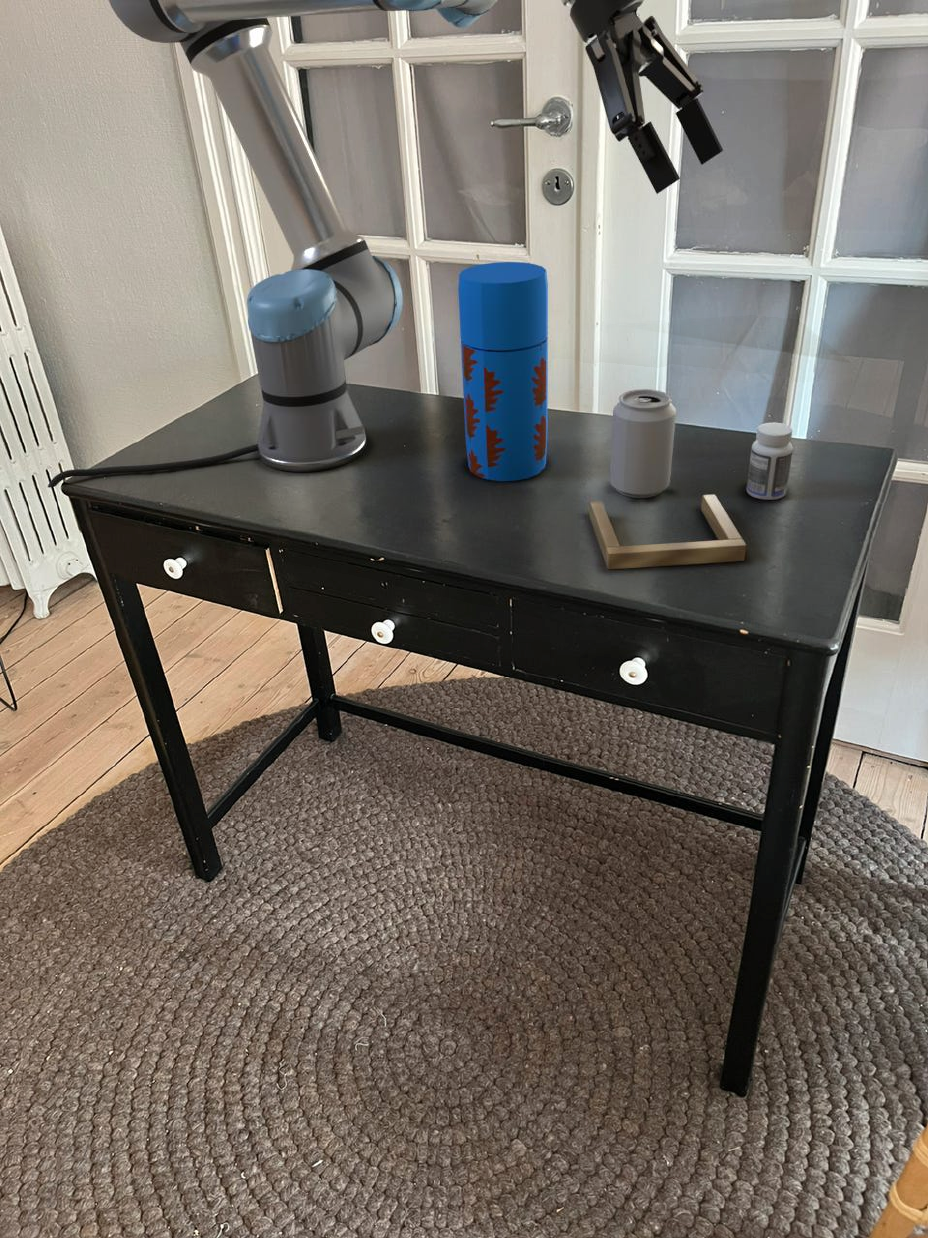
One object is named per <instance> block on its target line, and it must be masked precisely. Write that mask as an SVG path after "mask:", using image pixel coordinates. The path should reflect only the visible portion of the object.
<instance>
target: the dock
mask: <svg viewBox="0 0 928 1238" xmlns="http://www.w3.org/2000/svg"><path fill="white" fill-rule="evenodd" d="M700 507H701V508H700V511H701V512H702V515H703V516H704V518H705V519H706V521H707V523H708V525H709V526H710V528H711V530H712V531H713V533H714V535H715V537H716V538H717V539H715V540H704V541H701V540H700V541H686V542H684V541H683V542H671V543H656V544H655V543H654V544H640V545H639V544H638V545H624V546H622V545H621V546H620V544H619V541H618V539H617V535H616V533H615V531H614V528H613V526H612V523H611V520H610V518H609V516H608V513H607V510H606V508H605V505H604V502H603V501H590V502H589V520H590V523H591V525H592V528H593V531H594V534H595V537H596V539H597V542H598V546H599V548H600V551H601V554H602V557H603V559H604V563H605V565H606V568H607V570H622V569H635V568H636V569H637V568H651V567H669V566H683V565H685V566H686V565H700V564H716V563H730V562H731V563H732V562H744V561H745V557H746V552H747V551H746V550H747V544H746V542H745V541H744V539H743V537H742V536H741V534H740V533H739V531H738V529H737V528H736V525H734V523H733V521H732V520H731V517H730V516H729V515H728V513H727V511H726V510H725V509H724V507H723V506H722V504H721V502H720V501H719V499H718V497H717V496H716V494H703V495H702V499H701V505H700Z"/></svg>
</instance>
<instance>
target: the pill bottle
mask: <svg viewBox="0 0 928 1238" xmlns="http://www.w3.org/2000/svg"><path fill="white" fill-rule="evenodd" d="M755 435H756V436H755V441H753V442H752V445H751V449H750V457H749V465H748V466H749V467H748V472H747V473H748V474H747V479H746V480H747V481H746V482H747V483H746V493H747V494H748V495H749V496H751V497H752V498H755V499H758V500H762V501H765V500H766V501H775V500H778V499H782V498H784V497H785V495H786V494H787V489H788V483H789V475H790V470H791V463H792V456H793V451H794V448H793V444H792V443H791V442H792V436H793V428H792V427H791V426H790V425H788V424H786V423H781V422H775V421H774V422H765V423H762V424H760V425H758V427H757V428H756V434H755Z"/></svg>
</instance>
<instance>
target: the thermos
mask: <svg viewBox="0 0 928 1238" xmlns="http://www.w3.org/2000/svg"><path fill="white" fill-rule="evenodd" d="M457 287H458V288H457V292H458V310H459V311H458V313H459V331H460V335H459V336H460V349H461V350H460V351H461V352H460V353H461V355H460V356H461V372H462V375H461V376H462V393H463V409H464V410H463V413H464V431H465V432H464V433H465V446H466V455H467V456H466V457H467V464H468V465H467V466H468V468H469V471H470V473H472V474H473V475H475V476H477V477H479V478H482V479H484V480H485V479H486V480H489V481H497V482H517V481H520V480H526V479H530V478H532V477H534V476H537V475H539V474H540V473H541V472H542V471H544V470H545V468H546V464H547V453H548V452H547V450H548V423H549V421H548V419H549V418H548V415H549V414H548V410H549V409H548V408H549V407H548V406H549V405H548V404H549V403H548V400H549V398H548V397H549V396H548V394H549V393H548V392H549V391H548V388H549V374H548V373H549V349H548V348H549V336H548V335H549V282H548V273H547V269H546V268H545V267H543V266H541V265H538V264H535V263H530V262H529V263H528V262H521V261H520V262H519V261H499V262H498V261H497V262H490V263H489V262H488V263H481V264H476V265H474V266H473V265H472V266H469V267H466V268H464V269H462V270H461V271H460V272H459V274H458V286H457Z"/></svg>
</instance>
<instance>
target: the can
mask: <svg viewBox="0 0 928 1238" xmlns="http://www.w3.org/2000/svg"><path fill="white" fill-rule="evenodd" d="M672 399H673V398H672V397H671V395H670V394H669V393H666V392H665V391H661V390H658V389H652V388H651V389H650V388H649V389H648V388H639V389H638V388H637V389H632V390H627V391H625V392H623V393H621V394H620V395H619V397H618V402H617V403H616V404H615V405H614V407H613V409H612V423H611V424H612V425H611V426H612V427H611V444H610V445H611V446H610V467H609V468H610V470H609V483H610V485H611V486H612V487H613V488H614V489H616V491H617V492H618V493H619V494H621V495H623V496H626V497H630V498H635V499H646V498H647V499H648V498H652V497H656V496H658V495H660V494H661V493H663V491H665V490H666V489H667V488H668V487H669V486H670V483H671V475H672V463H673V451H674V441H675V440H674V439H675V427H676V418H677V417H676V415H677V409H676V407H675V406H674V405H673V404H672Z"/></svg>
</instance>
